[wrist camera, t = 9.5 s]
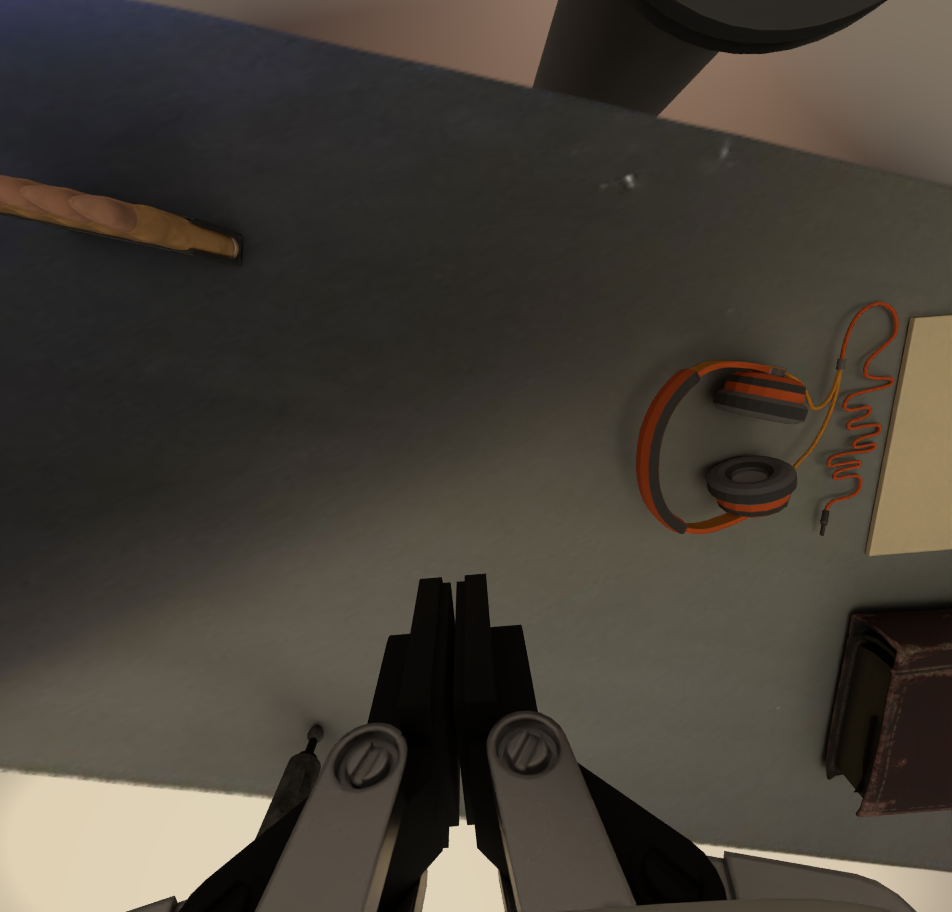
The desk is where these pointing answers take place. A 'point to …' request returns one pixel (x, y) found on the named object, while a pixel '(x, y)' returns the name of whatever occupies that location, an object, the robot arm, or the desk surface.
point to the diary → (895, 712)
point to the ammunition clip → (117, 220)
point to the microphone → (295, 781)
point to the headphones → (750, 477)
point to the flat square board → (918, 448)
